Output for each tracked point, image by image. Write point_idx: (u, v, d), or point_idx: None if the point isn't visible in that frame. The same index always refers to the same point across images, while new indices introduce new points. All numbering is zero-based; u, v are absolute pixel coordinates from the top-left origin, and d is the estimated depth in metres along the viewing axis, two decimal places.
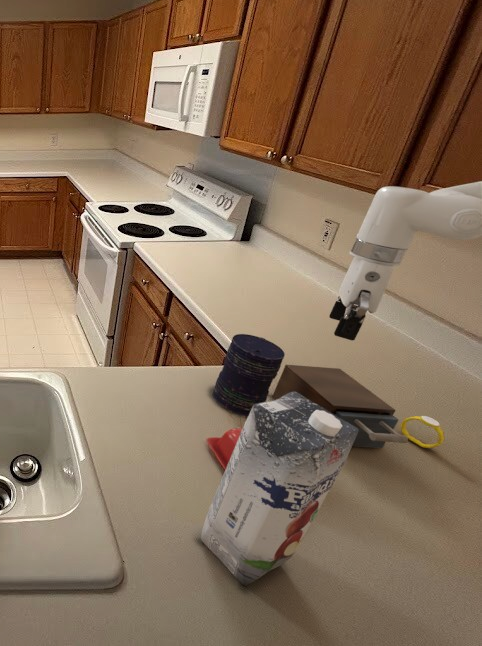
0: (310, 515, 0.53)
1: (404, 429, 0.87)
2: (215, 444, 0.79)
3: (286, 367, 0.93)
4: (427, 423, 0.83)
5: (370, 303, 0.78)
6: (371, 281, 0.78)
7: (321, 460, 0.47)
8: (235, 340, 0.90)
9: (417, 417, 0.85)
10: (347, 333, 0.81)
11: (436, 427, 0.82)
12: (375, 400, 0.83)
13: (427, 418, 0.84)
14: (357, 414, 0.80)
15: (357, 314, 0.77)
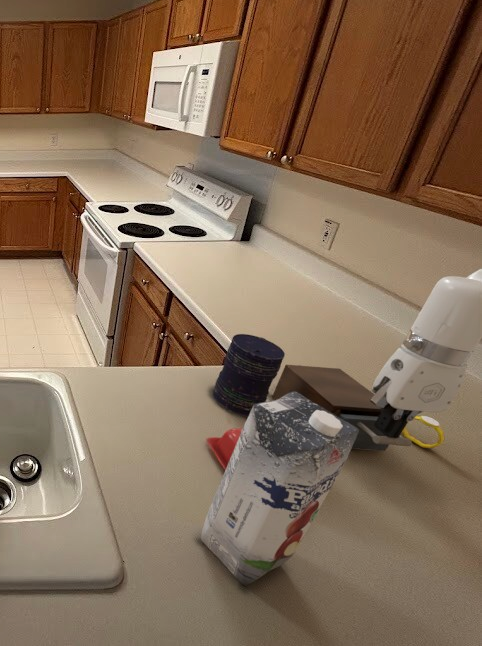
0: (310, 515, 0.53)
1: (404, 429, 0.87)
2: (215, 444, 0.79)
3: (286, 367, 0.93)
4: (427, 423, 0.83)
5: (389, 393, 0.71)
6: (398, 371, 0.71)
7: (321, 460, 0.47)
8: (235, 340, 0.90)
9: (417, 417, 0.85)
10: (381, 425, 0.75)
11: (436, 427, 0.82)
12: None
13: (427, 418, 0.84)
14: (360, 417, 0.79)
15: None
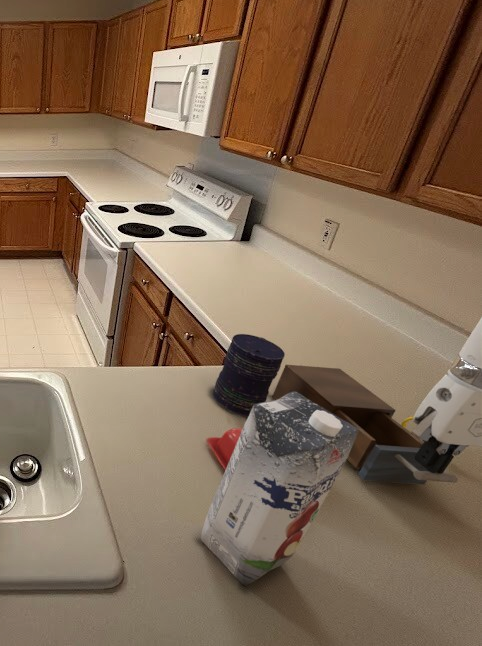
0: (310, 515, 0.53)
1: None
2: (215, 444, 0.79)
3: (286, 367, 0.93)
4: None
5: (434, 425, 0.64)
6: (445, 401, 0.64)
7: (321, 460, 0.47)
8: (235, 340, 0.90)
9: None
10: (423, 459, 0.68)
11: None
12: (375, 400, 0.83)
13: None
14: (398, 448, 0.72)
15: None
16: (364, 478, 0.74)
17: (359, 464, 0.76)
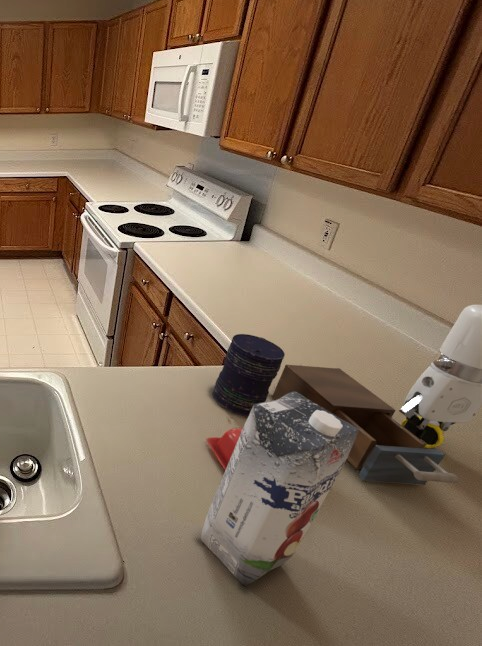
0: (310, 515, 0.53)
1: None
2: (215, 444, 0.79)
3: (286, 367, 0.93)
4: None
5: (420, 406, 0.81)
6: (429, 387, 0.80)
7: (321, 460, 0.47)
8: (235, 340, 0.90)
9: None
10: None
11: (436, 427, 0.82)
12: (375, 400, 0.83)
13: None
14: (398, 448, 0.72)
15: None
16: (364, 478, 0.74)
17: (359, 464, 0.76)
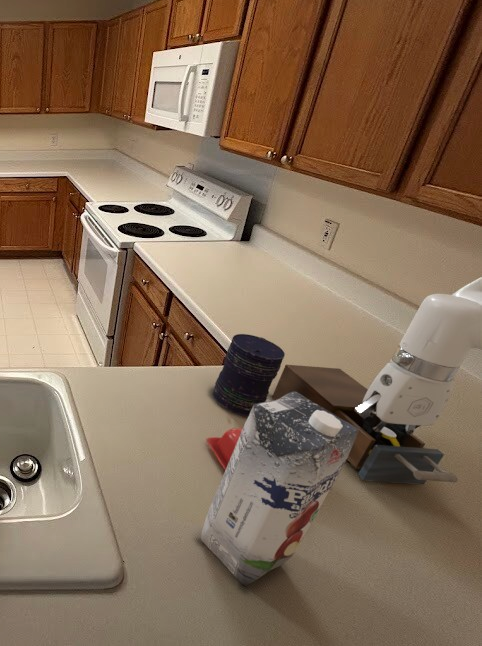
0: (310, 515, 0.53)
1: None
2: (215, 444, 0.79)
3: (286, 367, 0.93)
4: (382, 434, 0.76)
5: (378, 407, 0.73)
6: (387, 385, 0.72)
7: (321, 460, 0.47)
8: (235, 340, 0.90)
9: None
10: None
11: (391, 439, 0.75)
12: None
13: (384, 428, 0.77)
14: (398, 448, 0.72)
15: (361, 416, 0.76)
16: (364, 478, 0.74)
17: (359, 464, 0.76)
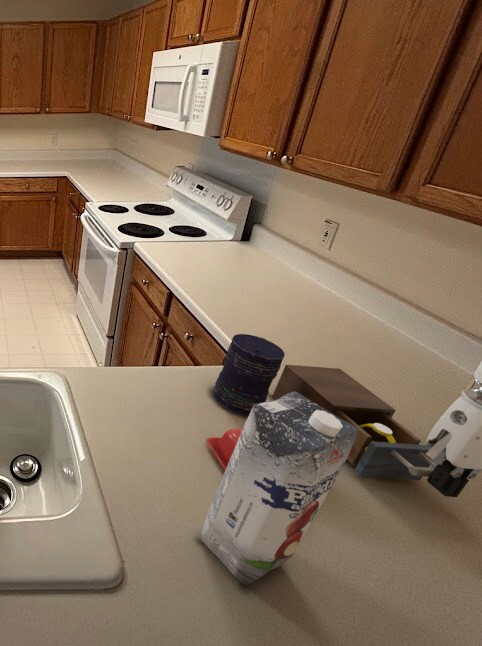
0: (310, 515, 0.53)
1: None
2: (215, 444, 0.79)
3: (286, 367, 0.93)
4: (378, 430, 0.77)
5: (449, 449, 0.62)
6: (460, 424, 0.62)
7: (321, 460, 0.47)
8: (235, 340, 0.90)
9: (370, 424, 0.79)
10: (436, 482, 0.66)
11: (387, 435, 0.76)
12: (375, 400, 0.83)
13: (380, 425, 0.78)
14: (394, 444, 0.73)
15: None
16: (360, 474, 0.75)
17: (355, 460, 0.77)
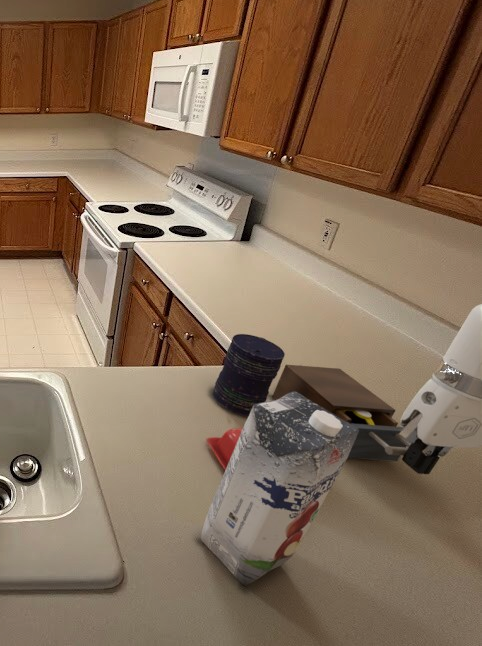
0: (310, 515, 0.53)
1: None
2: (215, 444, 0.79)
3: (286, 367, 0.93)
4: (358, 414, 0.81)
5: (420, 428, 0.66)
6: (430, 404, 0.66)
7: (321, 460, 0.47)
8: (235, 340, 0.90)
9: None
10: (410, 461, 0.70)
11: (367, 418, 0.80)
12: (375, 400, 0.83)
13: None
14: (372, 426, 0.77)
15: None
16: None
17: None
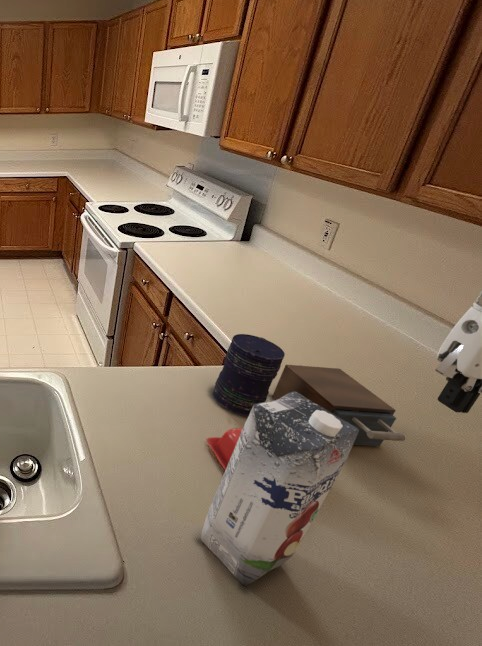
0: (310, 515, 0.53)
1: None
2: (215, 444, 0.79)
3: (286, 367, 0.93)
4: None
5: (460, 360, 0.61)
6: (471, 333, 0.61)
7: (321, 460, 0.47)
8: (235, 340, 0.90)
9: None
10: (447, 399, 0.66)
11: None
12: (375, 400, 0.83)
13: None
14: (355, 412, 0.80)
15: None
16: None
17: None
